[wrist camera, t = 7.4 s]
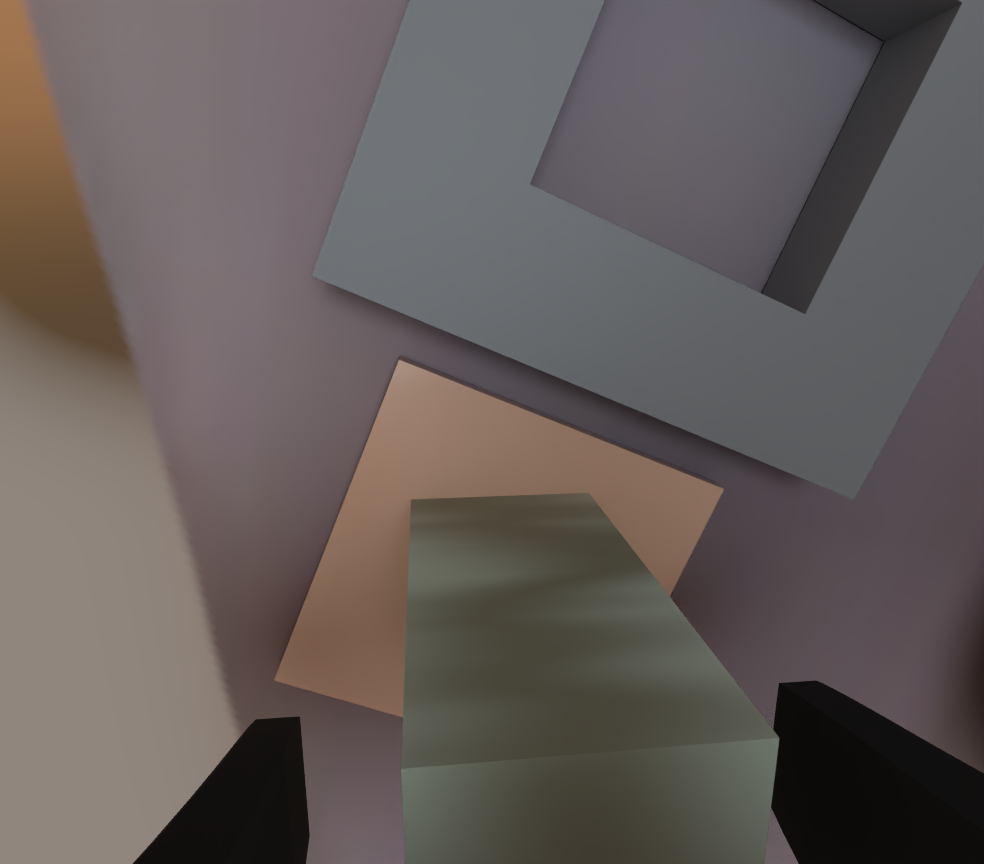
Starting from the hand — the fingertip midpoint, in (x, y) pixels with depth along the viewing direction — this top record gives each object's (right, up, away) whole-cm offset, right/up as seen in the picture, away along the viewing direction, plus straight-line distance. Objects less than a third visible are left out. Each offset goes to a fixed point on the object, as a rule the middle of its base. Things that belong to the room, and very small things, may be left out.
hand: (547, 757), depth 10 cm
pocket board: (+4, +11, +4) cm, 13 cm away
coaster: (-1, +1, +6) cm, 6 cm away
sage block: (-1, +1, +5) cm, 6 cm away
